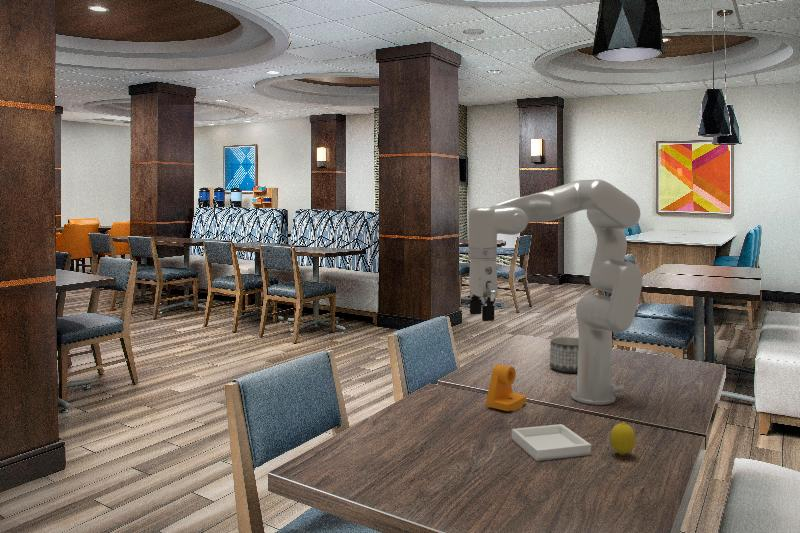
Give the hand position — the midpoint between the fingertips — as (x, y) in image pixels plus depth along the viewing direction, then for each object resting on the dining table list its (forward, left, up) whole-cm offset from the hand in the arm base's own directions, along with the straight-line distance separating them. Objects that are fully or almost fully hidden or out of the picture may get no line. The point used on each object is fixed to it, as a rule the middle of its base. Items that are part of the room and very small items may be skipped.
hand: (481, 317), depth 171 cm
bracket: (-11, -8, -29) cm, 32 cm away
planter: (-48, -39, -29) cm, 68 cm away
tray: (-9, +22, -28) cm, 37 cm away
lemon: (-23, +31, -28) cm, 48 cm away
